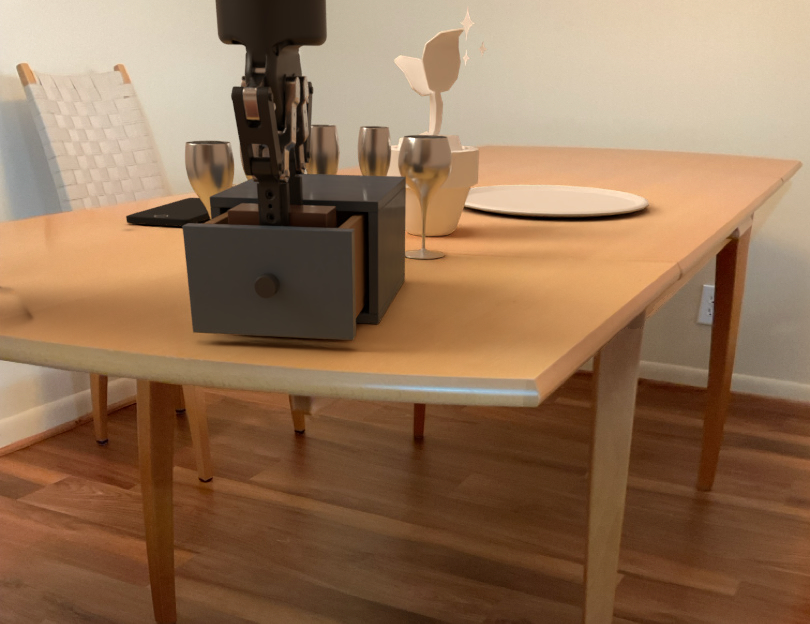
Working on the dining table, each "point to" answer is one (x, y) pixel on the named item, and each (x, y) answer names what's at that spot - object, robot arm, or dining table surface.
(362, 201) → the cabinet
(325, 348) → the dining table surface
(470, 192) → the plate
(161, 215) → the cell phone
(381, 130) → the goblet set
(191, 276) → the drawer
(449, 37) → the potted plant
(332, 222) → the brown rectangular block
